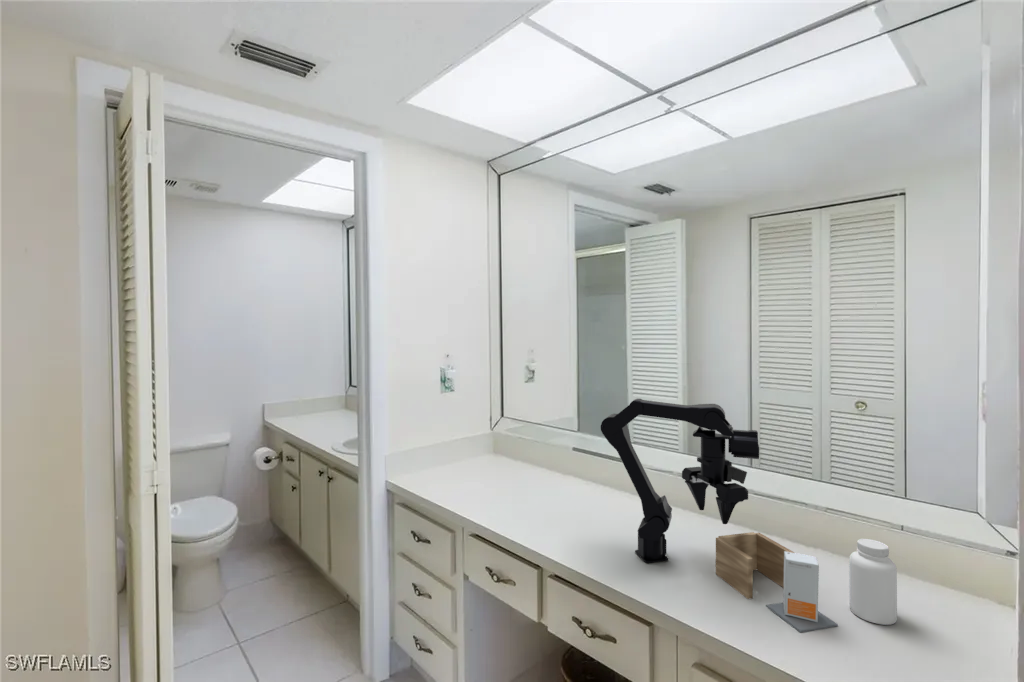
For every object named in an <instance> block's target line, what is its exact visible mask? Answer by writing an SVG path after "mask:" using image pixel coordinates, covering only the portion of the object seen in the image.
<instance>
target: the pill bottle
mask: <svg viewBox="0 0 1024 682" xmlns="http://www.w3.org/2000/svg"><path fill="white" fill-rule="evenodd" d="M889 554H890V547H889V546H888V545H887V544H885V543H884V542H882V541H879V540H875V539H872V538H871V539H870V538H860V539H858V540H857V541H856V551H853V552H851V554H850V555H849V557H848V559H849V561H848V563H849V566H848V567H849V571H848V572H849V573H848V574H849V586H848V587H849V592H848V593H849V608H850V610H851V612H852V613H853V614H854V615H855V616H856V617H858V618H860V619H862V620H864V621H866V622H870V623H873V624H877V625H884V626H890V625H893V624H895V623H896V622H897V620H898V570H897V566H896V564H895V562H894V561H893V559H891V558H890V556H889Z"/></svg>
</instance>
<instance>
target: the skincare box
mask: <svg viewBox="0 0 1024 682" xmlns="http://www.w3.org/2000/svg"><path fill="white" fill-rule="evenodd" d="M819 571H820V565H819V561H818V557H817V556H813V555H809V554H808V555H807V554H804V553H798V552H794V553H791V552H786V551H784V588H783V595H782V596H783V598H782V599H783V600H782V601H783V605H784V613H785V615H789V616H793V617H797V618H801V619H805V620H809V621H813V622H818V611H819V579H820V578H819V576H820V574H819V573H820V572H819Z"/></svg>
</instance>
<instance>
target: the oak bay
mask: <svg viewBox="0 0 1024 682" xmlns="http://www.w3.org/2000/svg"><path fill="white" fill-rule="evenodd" d="M784 551H786V552H791V553H795V552H794V551H793V550H791V549H789V548H787V547H785V546H784V545H782V544H780V543H779V542H777V541H775V540H773V539H772V538H770V537H767V536H766V535H765V534H762V533H761V532H754V531H751V532H750V531H749V532H743V533H736V534H735V533H733V534H726V535H719V536H718V537H715V575H716V576H718V577H719V578H720V579H722V580H723V581H725V583H726V584H728V585H729V586H731V587H732V588H733V589H734V590H736V591H737V592H738V593H740V594H741V595H742V596H743V597H744V598H746V599H747V600H751V599H754V598H753V595H754V592H753V589H754V588H753V583H754V582H753V577H754V576H753V575H754V571H758V572H759V573H761V574H762V575H764V576H765V577H766V578H768V579H770V580H772V581H773V582H774V583H775V584H778V585H779V586H780V587H781V588H783V589H784Z"/></svg>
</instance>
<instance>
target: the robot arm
mask: <svg viewBox="0 0 1024 682" xmlns="http://www.w3.org/2000/svg"><path fill="white" fill-rule="evenodd" d="M638 416H645V417H652V418H661V419H666V420H667V419H668V420H675V421H682V422H687V423H690V424H692V425H695V426H696V427H697V429H695V430H694V431H693V432H692V436H693V437H696V438H700V456H698V457H696V462H697V463H699V464H700V466H692V467H690V466H689V467H685V468H683V470H682V471H681V479H682V480H684V483H686V484H685V485H687V487H688V489H689V491H690V493H691V495H692V497H693V499H694V501H695V503H696V506H697V507H698V510H699V511H704V510H705V506H706V493H707V489H708V487H709V486H711V487H712V488H715V494H716V495H717V496H715V500H716V505H717V509H718V512H719V516H720V520H721V523H722V524H723V525H728V523H729V521H730V518H731V516H732V513H733V511H734V509H735V507H736V505H737V504H738V503H742V502H744V501H747V500H749V489H747V487H746V486H743V485H744V483H745V481H746V478H747V474H748V472H747V471H746V470H743V469H741V468H739V467H735V466H733V463H732V461H730V460H728V459H726V440H728V441H727V442H728V445H727V446H728V448H727V449H728V453H729V454H731V456H732V455H733V456H732V457H733V458H740V459H741V458H742V459H752V460H760V445H759V432H758V430H755V429H751V430H749V429H748V430H744V429H734V427H733V426H732V424H730V422H729V421H728V420H727V419H726V412H725V410H724V408H723V407H722V406H721V405H719V404H716V403H698V404H688V405H686V404H678V403H673V402H672V403H670V402H662V401H655V400H654V401H653V400H647V399H642V398H635V399H633V400H632V401H631V402H630V403H629V405H627V406H626V407H624V409H622V410H621V411H620V412H619V413H612V414H609V415H608V416H607V417H605V418H604V419H603V420H602V422H601V425H600V432H601V434H602V435H603V436H604V437H605V439H606V441H607V442H608V443H609V444H610V445H611V446H612V447H613V448H614V449H615V450H616V451H617V453H618V456H619V457H620V460H621V462H622V464H623V465H624V468H625V470H626V473H627V474H628V476H629V478H630V480H631V483H632V484H633V487H634V488H635V491H636V493H637V494H638V497H639V499H640V501H641V508H642V513H643V518H642V519H641V521H640V523H639V526H638V529H637V549H635V550H634V553H635V554H636V555H637V556H638V557H639V558H640V559H641V560H643V562H644V563H646V564H650V563H652V564H653V563H658V562H666V561H669V557H668V556H667V539H666V535H665V533H666V532H667V531H668V530H669V528H670V525H671V521H672V517H673V516H672V515H673V513H672V511H673V508H672V507H671V505H670V504H669V502H668V499H667V496H666V495H663V496H660V495H659V494H658V493H657V492H656V491H655V488H654V487H653V485H652V483H651V480H650V479H649V477H648V475H647V472H646V470H645V468H644V466H643V464H642V462H641V460H640V457H639V456H638V455H637V453H636V450H635V448H634V447H633V444H632V440H631V433H630V429H629V427H628V424H629V423H631V422H632V421H633V420H635V419H636V418H637V417H638ZM733 481H734V482H733ZM725 482H727V483H725ZM737 482H739V483H740V484H738V483H737ZM741 484H742V485H741Z"/></svg>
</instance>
